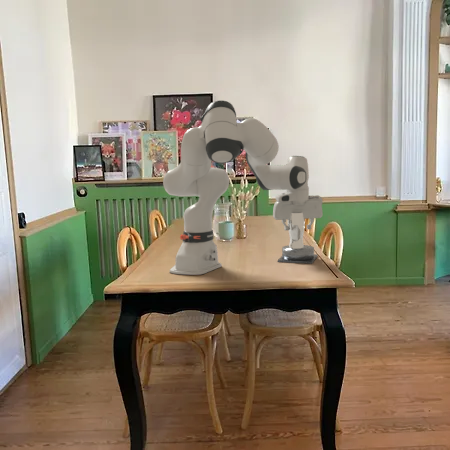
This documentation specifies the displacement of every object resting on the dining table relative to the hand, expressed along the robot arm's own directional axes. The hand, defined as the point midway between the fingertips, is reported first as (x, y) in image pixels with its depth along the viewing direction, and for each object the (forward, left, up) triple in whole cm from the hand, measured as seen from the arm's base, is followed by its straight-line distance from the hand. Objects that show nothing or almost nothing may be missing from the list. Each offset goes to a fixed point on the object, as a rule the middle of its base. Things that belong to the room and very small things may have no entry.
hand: (297, 229), depth 200 cm
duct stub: (0, 0, -12) cm, 12 cm away
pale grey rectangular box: (0, +1, -8) cm, 8 cm away
